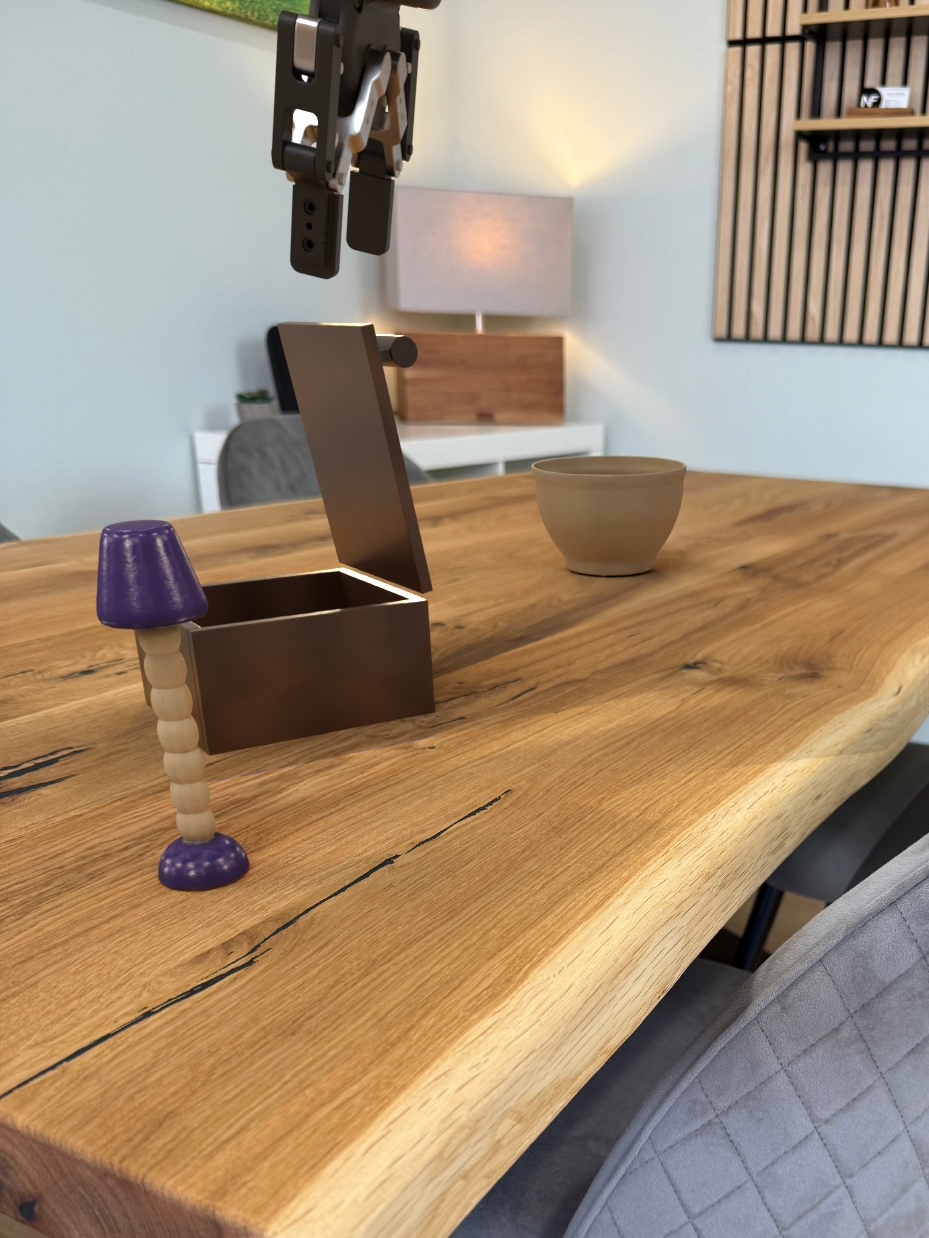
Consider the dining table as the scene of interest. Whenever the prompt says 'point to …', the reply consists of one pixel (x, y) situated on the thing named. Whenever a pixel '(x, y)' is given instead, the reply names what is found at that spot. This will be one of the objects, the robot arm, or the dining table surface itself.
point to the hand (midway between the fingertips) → (342, 263)
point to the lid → (358, 444)
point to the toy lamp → (168, 686)
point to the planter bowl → (609, 509)
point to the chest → (303, 658)
